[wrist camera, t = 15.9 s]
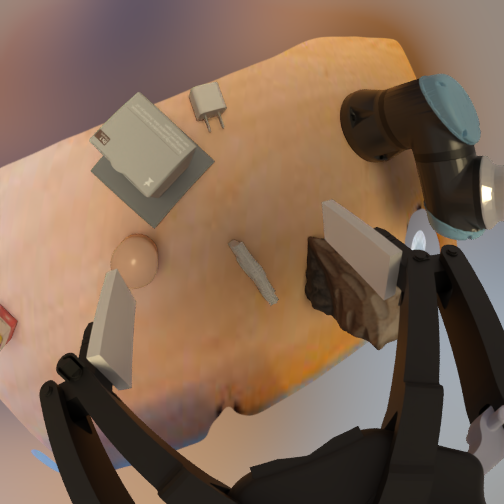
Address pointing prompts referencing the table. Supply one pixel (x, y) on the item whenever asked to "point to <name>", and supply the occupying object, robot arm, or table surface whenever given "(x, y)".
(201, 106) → the usb wall charger
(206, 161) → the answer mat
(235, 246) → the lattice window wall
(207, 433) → the table surface
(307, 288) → the brown rough rock block
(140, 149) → the skincare box
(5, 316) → the ink cartridge box
